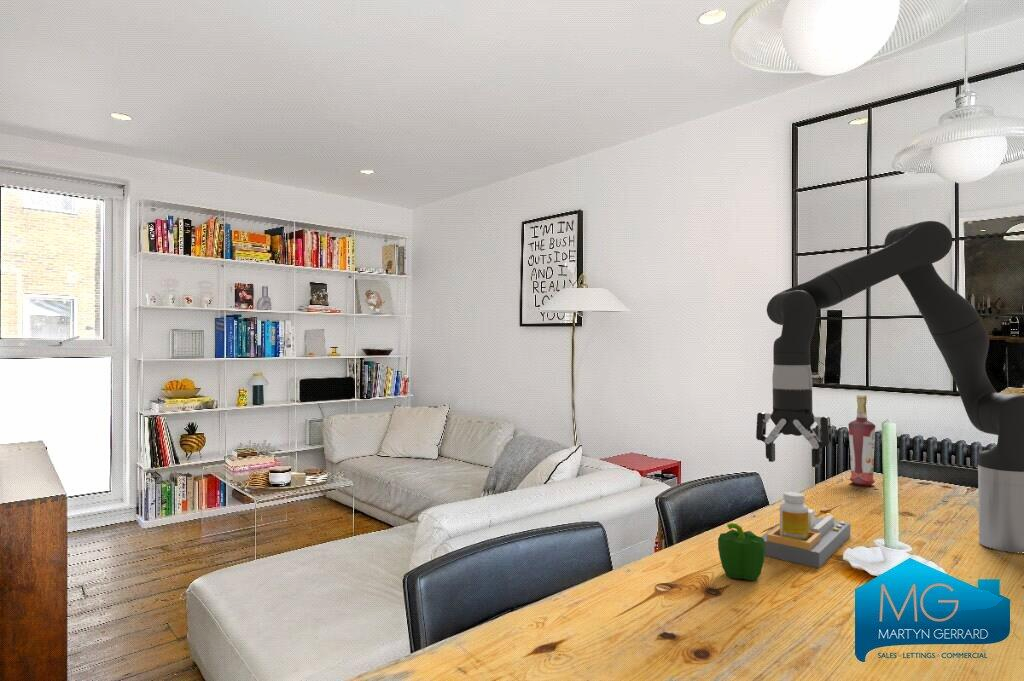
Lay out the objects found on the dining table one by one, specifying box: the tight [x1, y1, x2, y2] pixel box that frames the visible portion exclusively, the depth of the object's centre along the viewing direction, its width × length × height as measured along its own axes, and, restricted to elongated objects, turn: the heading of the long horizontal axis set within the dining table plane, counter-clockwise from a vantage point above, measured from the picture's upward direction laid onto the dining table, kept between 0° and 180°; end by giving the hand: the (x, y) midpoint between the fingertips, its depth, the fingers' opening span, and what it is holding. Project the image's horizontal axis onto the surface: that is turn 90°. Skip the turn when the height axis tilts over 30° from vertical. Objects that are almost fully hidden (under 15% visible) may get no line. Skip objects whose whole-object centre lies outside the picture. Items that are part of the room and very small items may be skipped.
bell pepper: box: [717, 522, 766, 581], centre depth 112 cm, size 8×8×10 cm
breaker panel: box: [760, 514, 851, 569], centre depth 130 cm, size 12×26×5 cm, turn 138°
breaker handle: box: [808, 508, 816, 532], centre depth 128 cm, size 4×3×5 cm
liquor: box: [848, 394, 876, 487], centre depth 186 cm, size 7×7×28 cm
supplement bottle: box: [779, 491, 809, 541], centre depth 124 cm, size 5×5×10 cm
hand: (793, 463), depth 124 cm, fingers open, 8 cm apart
